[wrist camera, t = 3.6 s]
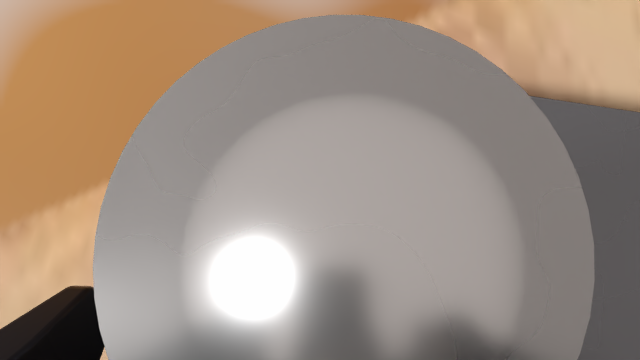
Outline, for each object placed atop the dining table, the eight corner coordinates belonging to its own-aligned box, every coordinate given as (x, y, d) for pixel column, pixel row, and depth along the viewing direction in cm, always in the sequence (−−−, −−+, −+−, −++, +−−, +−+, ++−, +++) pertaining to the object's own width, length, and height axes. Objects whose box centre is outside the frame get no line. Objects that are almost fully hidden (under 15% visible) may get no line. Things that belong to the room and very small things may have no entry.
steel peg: (487, 277, 16) (708, 195, 4) (396, 395, 15) (365, 665, 4) (371, 190, 17) (295, -61, 5) (285, 297, 16) (5, 278, 5)
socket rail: (1071, 218, 14) (1236, 196, 11) (1097, 736, 12) (1313, 870, 9) (294, 91, 19) (275, 53, 16) (202, 445, 16) (159, 474, 13)
